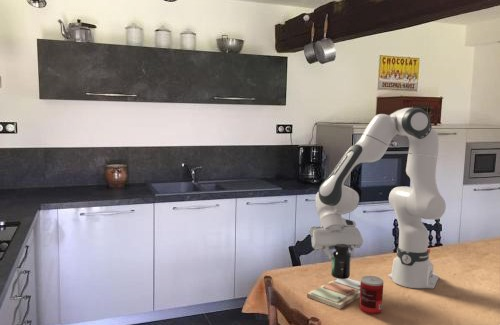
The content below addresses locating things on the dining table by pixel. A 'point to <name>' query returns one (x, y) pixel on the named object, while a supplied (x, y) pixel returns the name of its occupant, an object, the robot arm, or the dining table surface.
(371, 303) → the canned food
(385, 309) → the dining table surface
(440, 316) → the dining table surface
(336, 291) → the tile board
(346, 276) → the supplement bottle
